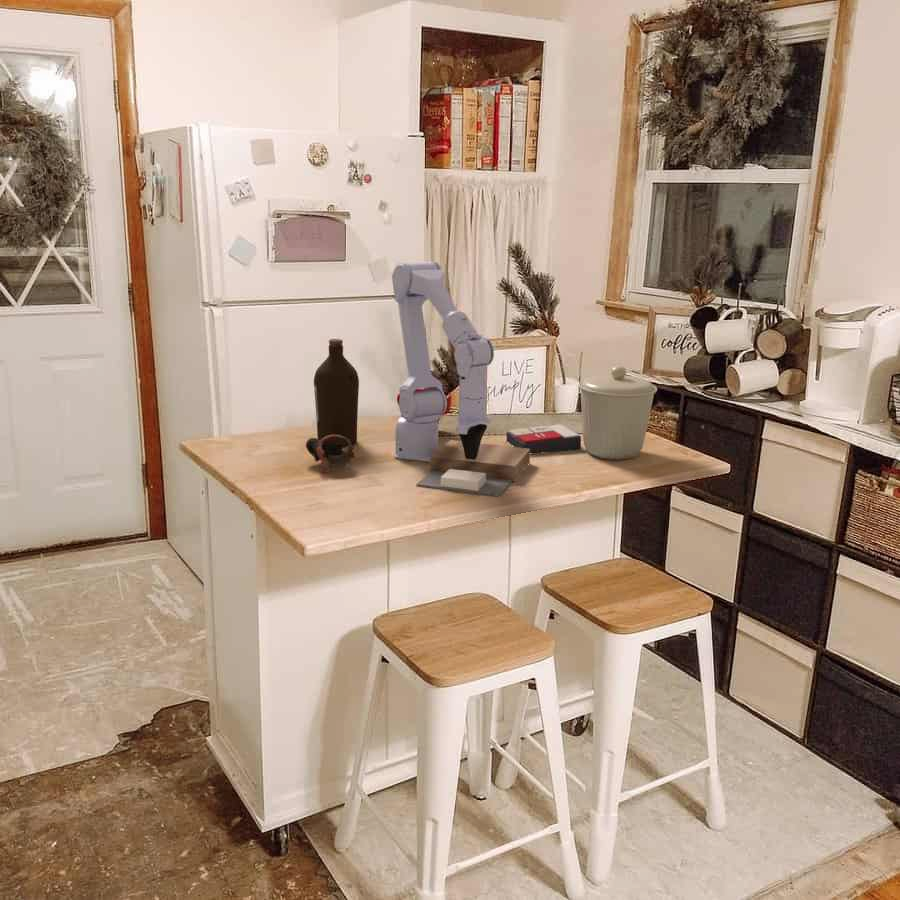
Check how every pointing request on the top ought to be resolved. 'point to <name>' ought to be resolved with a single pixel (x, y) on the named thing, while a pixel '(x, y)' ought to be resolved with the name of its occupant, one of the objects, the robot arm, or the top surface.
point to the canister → (615, 413)
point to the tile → (463, 479)
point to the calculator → (545, 439)
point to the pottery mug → (330, 451)
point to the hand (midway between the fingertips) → (471, 458)
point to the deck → (482, 460)
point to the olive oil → (336, 395)
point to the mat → (489, 487)
